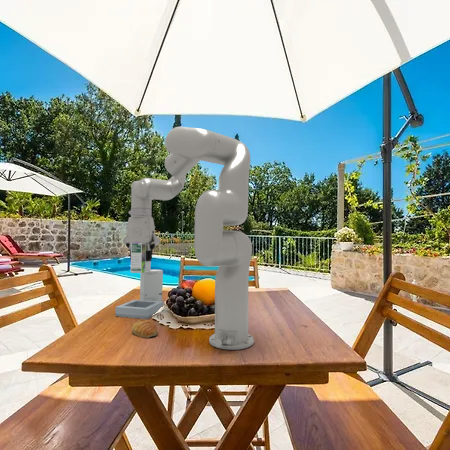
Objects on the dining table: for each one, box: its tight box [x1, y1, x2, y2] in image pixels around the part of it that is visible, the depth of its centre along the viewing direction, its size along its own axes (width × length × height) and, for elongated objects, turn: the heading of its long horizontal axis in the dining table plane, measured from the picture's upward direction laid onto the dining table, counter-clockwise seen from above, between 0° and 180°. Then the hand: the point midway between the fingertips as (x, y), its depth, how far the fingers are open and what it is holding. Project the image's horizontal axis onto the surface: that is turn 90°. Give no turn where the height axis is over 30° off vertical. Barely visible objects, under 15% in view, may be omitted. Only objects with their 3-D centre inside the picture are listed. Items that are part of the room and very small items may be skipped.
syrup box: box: [130, 242, 152, 274], centre depth 122 cm, size 6×6×14 cm
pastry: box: [131, 319, 159, 339], centre depth 98 cm, size 9×7×4 cm
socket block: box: [114, 299, 165, 320], centre depth 121 cm, size 13×13×4 cm
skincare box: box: [139, 269, 164, 302], centre depth 136 cm, size 8×6×15 cm
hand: (140, 260), depth 122 cm, fingers closed on syrup box, 5 cm apart
